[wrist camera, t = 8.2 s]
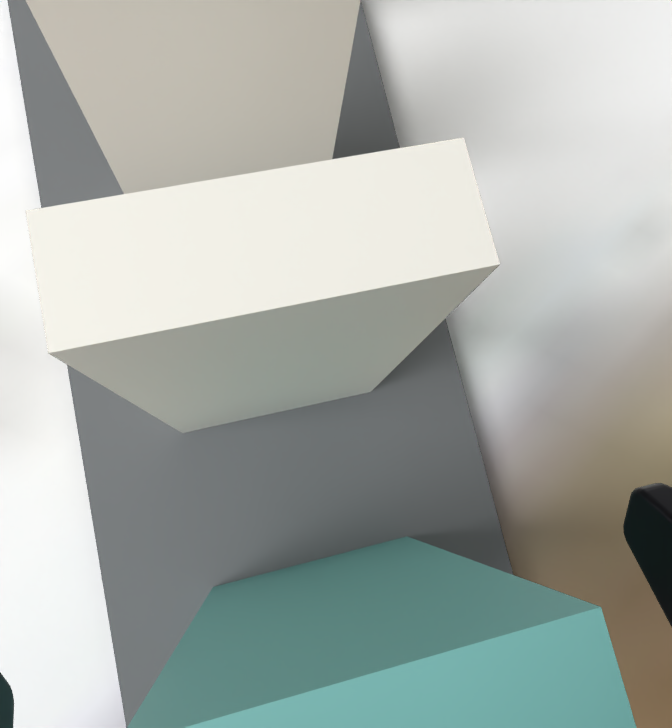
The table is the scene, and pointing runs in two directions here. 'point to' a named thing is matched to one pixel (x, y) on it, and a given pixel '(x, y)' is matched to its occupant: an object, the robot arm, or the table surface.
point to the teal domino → (390, 650)
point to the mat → (254, 431)
